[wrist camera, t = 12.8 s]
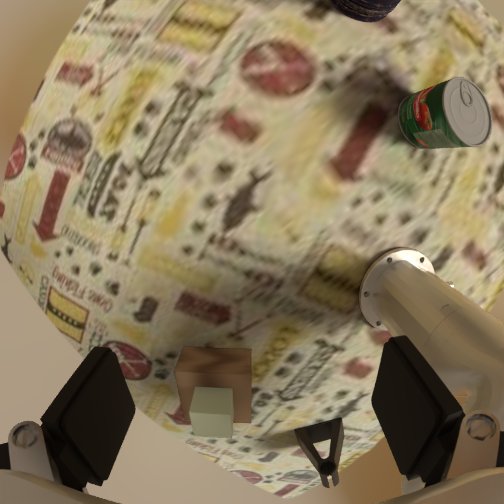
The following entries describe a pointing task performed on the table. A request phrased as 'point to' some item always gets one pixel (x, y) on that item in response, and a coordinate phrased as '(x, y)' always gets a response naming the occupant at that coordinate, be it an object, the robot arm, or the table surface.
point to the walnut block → (216, 376)
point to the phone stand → (318, 434)
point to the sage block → (212, 412)
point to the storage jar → (365, 8)
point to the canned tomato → (446, 116)
